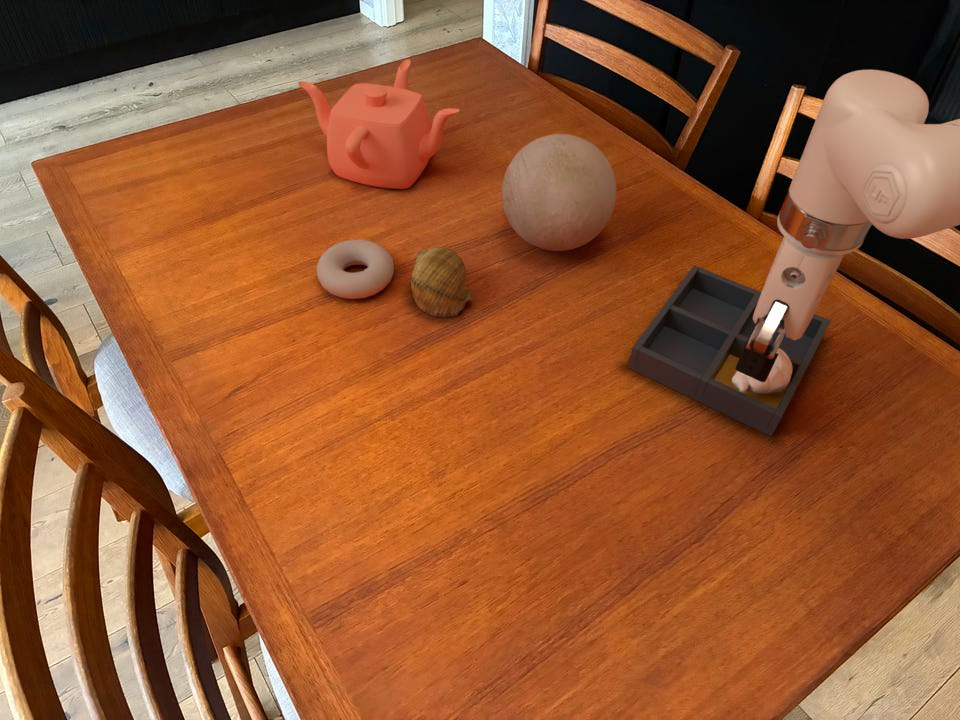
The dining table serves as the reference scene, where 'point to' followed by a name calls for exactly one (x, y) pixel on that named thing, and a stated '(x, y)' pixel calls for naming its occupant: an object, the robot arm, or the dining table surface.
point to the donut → (356, 282)
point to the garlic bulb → (774, 382)
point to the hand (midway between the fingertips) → (766, 346)
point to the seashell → (439, 282)
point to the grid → (718, 348)
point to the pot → (379, 132)
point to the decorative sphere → (559, 192)
